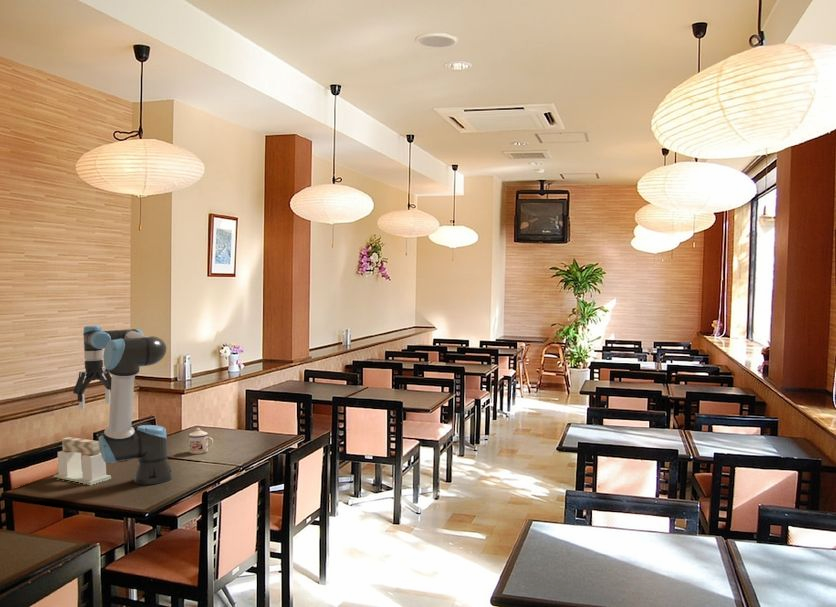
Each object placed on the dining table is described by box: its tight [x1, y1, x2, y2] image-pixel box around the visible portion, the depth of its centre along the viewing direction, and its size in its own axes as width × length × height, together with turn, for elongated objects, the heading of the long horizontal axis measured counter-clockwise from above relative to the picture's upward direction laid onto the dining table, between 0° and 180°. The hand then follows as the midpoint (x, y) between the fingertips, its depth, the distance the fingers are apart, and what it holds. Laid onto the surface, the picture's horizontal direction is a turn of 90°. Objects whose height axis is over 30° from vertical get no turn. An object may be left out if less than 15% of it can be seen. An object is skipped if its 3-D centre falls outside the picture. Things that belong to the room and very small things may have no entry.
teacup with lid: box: [188, 427, 214, 455], centre depth 344 cm, size 12×9×12 cm
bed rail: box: [61, 436, 100, 456], centre depth 301 cm, size 20×4×9 cm, turn 62°
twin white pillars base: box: [53, 449, 112, 486], centre depth 301 cm, size 24×10×12 cm, turn 62°
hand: (95, 406), depth 316 cm, fingers open, 13 cm apart
